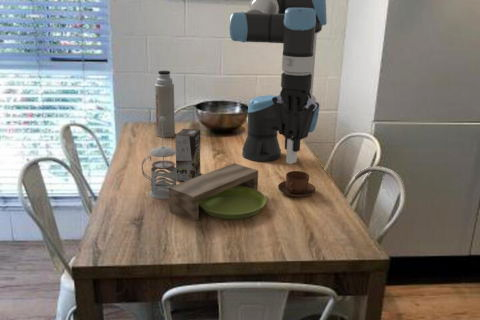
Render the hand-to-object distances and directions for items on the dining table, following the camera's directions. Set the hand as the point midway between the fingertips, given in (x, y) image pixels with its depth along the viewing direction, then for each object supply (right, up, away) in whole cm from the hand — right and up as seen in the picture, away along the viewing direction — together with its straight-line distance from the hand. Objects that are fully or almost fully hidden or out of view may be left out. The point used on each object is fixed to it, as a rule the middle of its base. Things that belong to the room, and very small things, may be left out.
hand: (291, 162), depth 133 cm
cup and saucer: (+5, -10, +31) cm, 33 cm away
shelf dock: (-21, -12, +22) cm, 33 cm away
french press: (-39, -10, +28) cm, 49 cm away
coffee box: (-31, -5, +42) cm, 53 cm away
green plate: (-16, -14, +19) cm, 28 cm away
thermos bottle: (-46, +11, +89) cm, 101 cm away
